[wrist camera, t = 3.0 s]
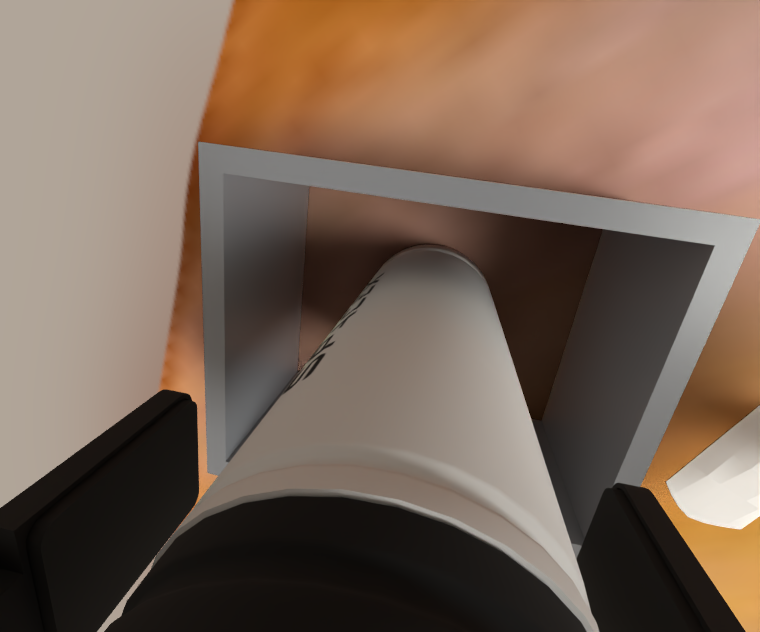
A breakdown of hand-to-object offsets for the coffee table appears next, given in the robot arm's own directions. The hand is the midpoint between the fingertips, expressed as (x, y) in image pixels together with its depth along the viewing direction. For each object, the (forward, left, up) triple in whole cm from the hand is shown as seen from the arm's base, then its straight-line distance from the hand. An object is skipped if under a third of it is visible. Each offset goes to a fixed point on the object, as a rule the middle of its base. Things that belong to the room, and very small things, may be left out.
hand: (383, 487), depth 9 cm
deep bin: (0, 0, -13) cm, 13 cm away
